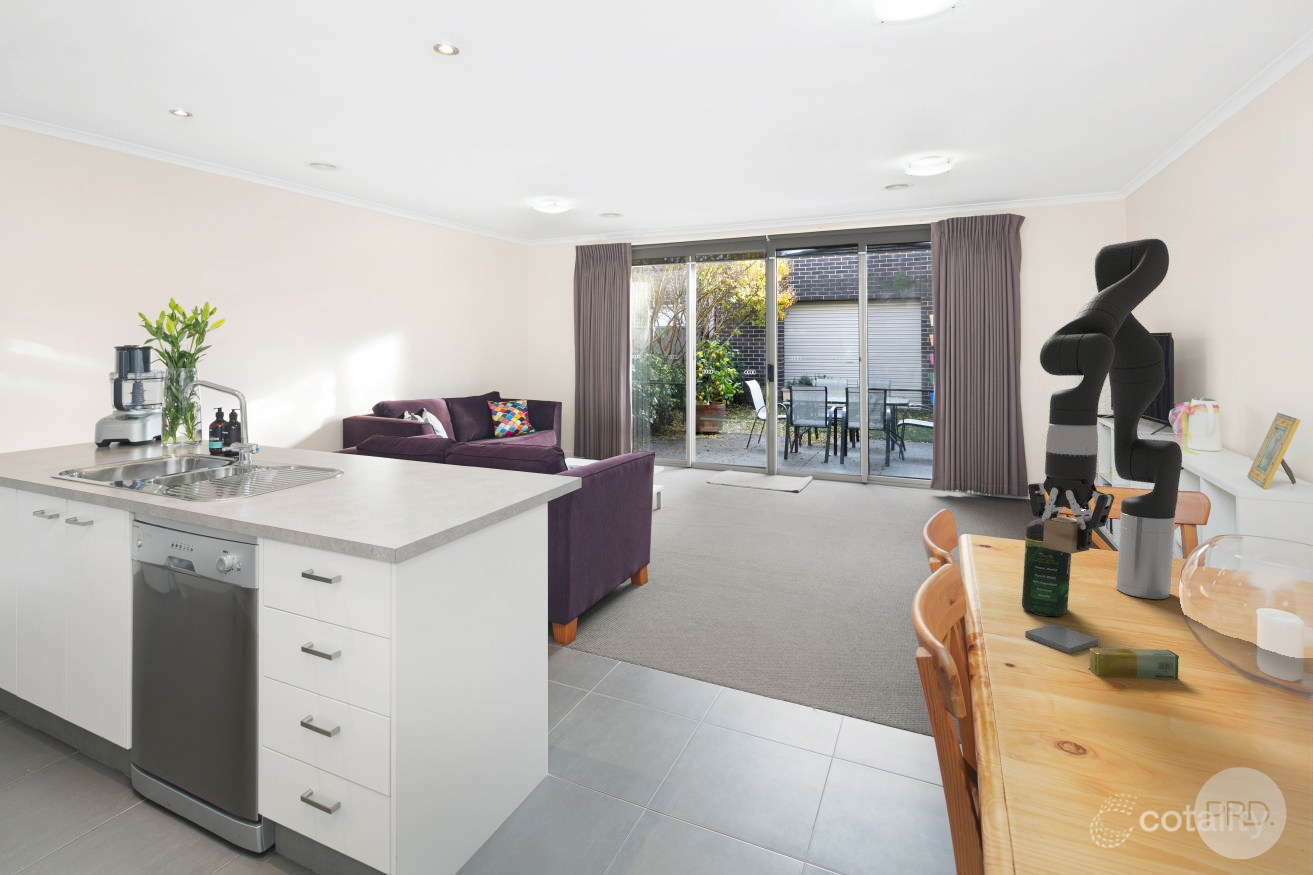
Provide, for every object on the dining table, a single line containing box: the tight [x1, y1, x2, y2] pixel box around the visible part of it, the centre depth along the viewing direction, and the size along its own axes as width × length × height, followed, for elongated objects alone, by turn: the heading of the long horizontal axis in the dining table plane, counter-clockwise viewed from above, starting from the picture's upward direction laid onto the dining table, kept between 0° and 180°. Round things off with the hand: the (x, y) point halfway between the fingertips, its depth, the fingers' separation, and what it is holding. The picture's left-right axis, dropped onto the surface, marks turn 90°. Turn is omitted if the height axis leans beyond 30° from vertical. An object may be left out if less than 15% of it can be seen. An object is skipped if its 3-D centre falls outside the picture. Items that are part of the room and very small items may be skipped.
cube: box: [1043, 516, 1090, 555], centre depth 113 cm, size 5×5×5 cm
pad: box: [1024, 623, 1099, 655], centre depth 115 cm, size 8×8×1 cm
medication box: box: [1088, 647, 1180, 681], centre depth 102 cm, size 12×3×4 cm, turn 83°
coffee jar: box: [1021, 517, 1072, 617], centre depth 129 cm, size 10×8×19 cm
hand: (1066, 545), depth 113 cm, fingers closed on cube, 5 cm apart
